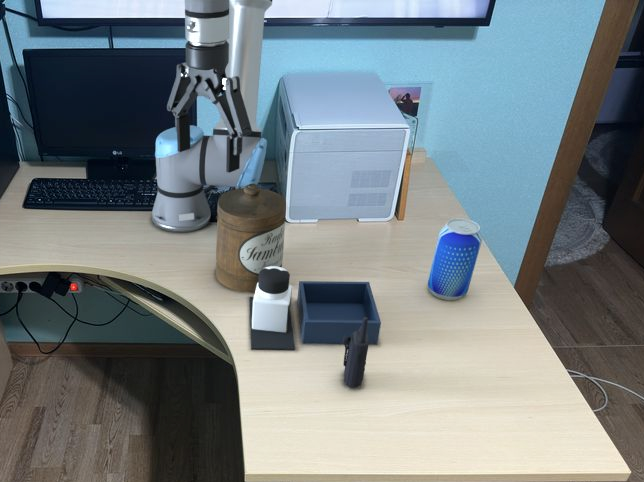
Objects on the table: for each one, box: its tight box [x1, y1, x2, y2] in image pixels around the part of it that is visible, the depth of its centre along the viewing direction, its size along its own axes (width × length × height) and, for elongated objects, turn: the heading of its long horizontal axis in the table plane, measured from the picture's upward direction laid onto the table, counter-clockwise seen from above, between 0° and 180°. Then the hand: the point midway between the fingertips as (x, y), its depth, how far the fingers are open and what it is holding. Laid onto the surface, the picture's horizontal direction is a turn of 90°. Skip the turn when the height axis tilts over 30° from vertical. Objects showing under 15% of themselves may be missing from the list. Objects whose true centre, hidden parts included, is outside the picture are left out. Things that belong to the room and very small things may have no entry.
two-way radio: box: [342, 317, 370, 388], centre depth 119 cm, size 6×4×15 cm
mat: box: [249, 296, 296, 351], centre depth 138 cm, size 18×8×1 cm, turn 177°
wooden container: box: [215, 184, 287, 293], centre depth 146 cm, size 15×15×22 cm
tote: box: [296, 280, 382, 345], centre depth 137 cm, size 15×15×5 cm
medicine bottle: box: [252, 266, 293, 333], centre depth 134 cm, size 7×7×12 cm
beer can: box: [427, 217, 483, 301], centre depth 142 cm, size 8×8×16 cm
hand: (207, 159), depth 128 cm, fingers open, 13 cm apart
